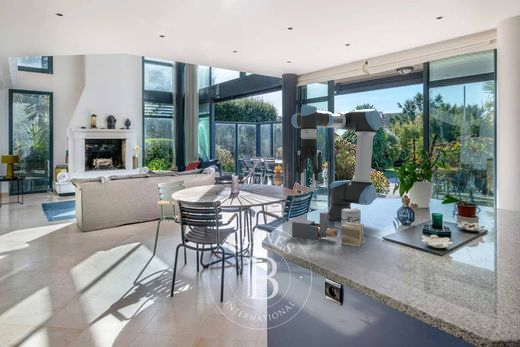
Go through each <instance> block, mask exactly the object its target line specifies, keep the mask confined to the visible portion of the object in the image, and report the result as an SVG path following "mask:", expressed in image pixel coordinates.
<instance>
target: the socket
mask: <svg viewBox="0 0 520 347" xmlns="http://www.w3.org/2000/svg"><path fill="white" fill-rule="evenodd" d="M364 225H365V224H364V223H360V224H359V223H350V222H346V223H345V224H343V225H342V231H341V245H343V244H344V245H345V246H351V247H352V246H353V247H359V248H360V247H361V246H362V245H363V243H364V236H365V235H364V231H365V230H364V227H365V226H364Z"/></svg>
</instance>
